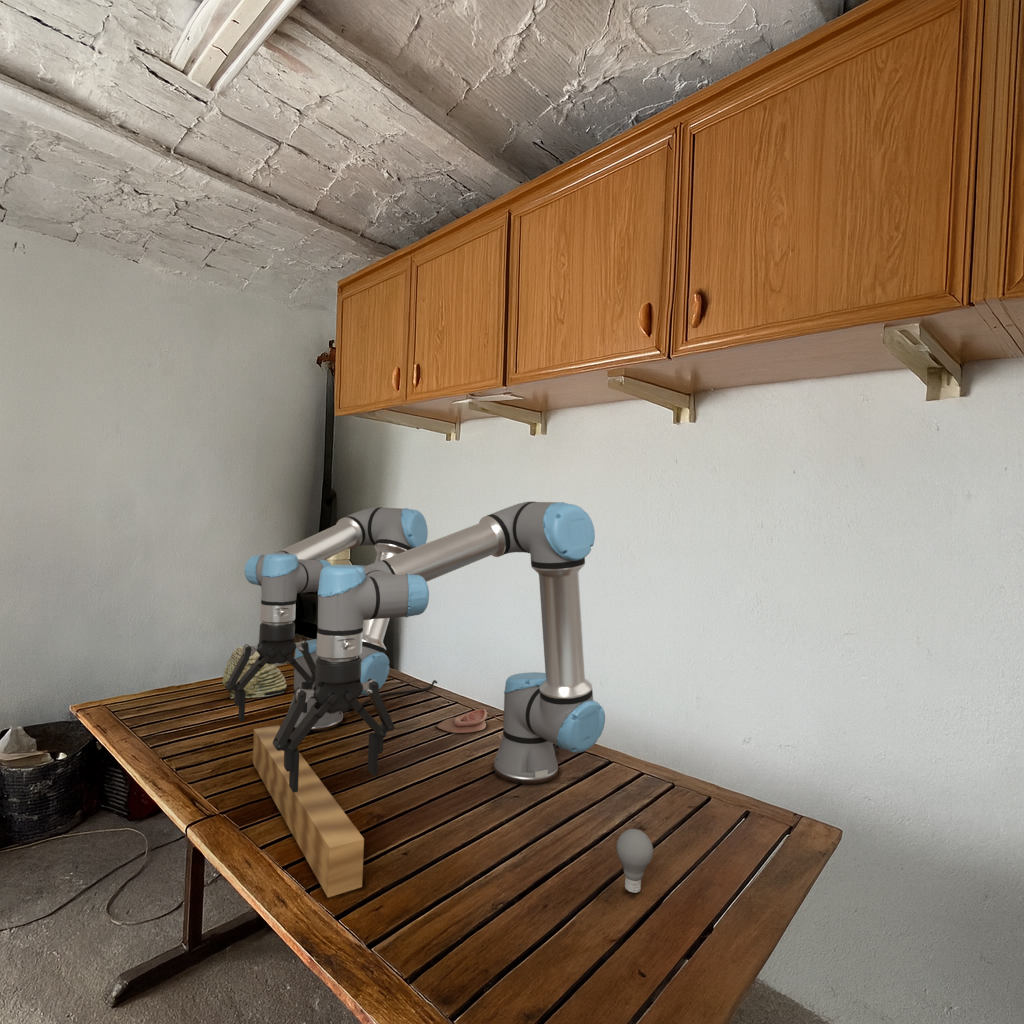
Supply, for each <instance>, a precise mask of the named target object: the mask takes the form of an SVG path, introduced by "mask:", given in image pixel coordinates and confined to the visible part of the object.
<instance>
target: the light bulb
mask: <svg viewBox="0 0 1024 1024" xmlns="http://www.w3.org/2000/svg"><path fill="white" fill-rule="evenodd" d="M615 849H616V854H617V857H618V859H619V861H620V863H621V865H622V867H623V873H624V874H623V875H624V876H625V878H624V888H625V890H627V891H628V892H630V893H634V894H635V893H639V892H640V891H641V889H642V887H641V886H642V879H643V877H644V875H645V871H646V868H647V867H648V866H649V864H650V863H651V861H652V859H653V855H654V847H653V843H652V841H651V838H649V836H648V835H647V834H646V833H645V832H643V831H642V830H641V829H636V828H629V829H627V830H625V831H623V832H622V833H621V834H620V835H619V837H618V839H617V841H616V847H615Z"/></svg>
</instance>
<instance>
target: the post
mask: <svg viewBox="0 0 1024 1024" xmlns="http://www.w3.org/2000/svg"><path fill="white" fill-rule="evenodd" d="M280 726H281V725H280V724H278V725H269V726H263V727H258V728H254V729H253V737H252V738H253V740H252V744H253V745H252V764H253V766H254V768H255V770H256V771H257V773H258V775H259V777H260V779H261V780H262V782H263V784H264V786H265V788H266V790H267V792H268V793H269V795H270V796H271V799H272V800H273V802H274V804H275V805H276V807H277V810H278V811H279V813H280V815H281V816H282V818H283V820H284V822H285V824H286V825H287V828H288V829H289V831H290V833H291V834H292V836H293V838H294V840H295V842H296V844H297V845H298V847H299V849H300V850H301V853H302V854H303V856H304V857H305V860H306V861H307V863H308V865H309V867H310V868H311V870H312V872H313V874H314V876H315V877H316V880H317V881H318V883H319V884H320V887H321V889H322V890H323V892H324V893H325V895H326V897H327V899H329V898H332V897H335V896H338V895H341V894H344V893H348V892H351V891H354V890H356V889H357V890H358V889H361V888H363V878H364V853H365V852H364V851H365V838H364V837H363V835H362V834H361V833H360V831H359V830H358V828H357V827H356V826H355V825H354V823H353V822H352V821H351V818H349V817H348V815H347V813H345V811H344V809H342V807H341V806H340V804H339V803H338V802H337V801H336V799H335V798H334V796H333V795H332V794H331V793H330V791H329V790H328V789H327V787H326V786H325V785H324V783H323V782H322V781H321V779H320V778H319V777H318V776H317V774H316V773H315V771H314V770H313V768H312V767H311V766H310V765H309V763H308V762H307V761H306V759H305V758H304V756H303V755H302V754H301V753H300V752H299V778H298V792H294V793H293V791H292V790H291V788H290V787H289V774H290V771H288V772H287V771H286V769H285V768H284V751H282V750H281V751H278V750H277V749H276V748H275V747H274V745H273V740H274V738H275V736H276V734H277V732H278V730H279V728H280Z"/></svg>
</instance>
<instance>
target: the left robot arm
mask: <svg viewBox="0 0 1024 1024" xmlns="http://www.w3.org/2000/svg"><path fill="white" fill-rule="evenodd" d="M428 531H429V529H428V524H427V520H426V518H425V516H424V515H423V513H422V512H421V511H420V510H418V509H413V508H408V507H405V508H404V507H403V508H400V507H399V508H397V507H380V506H374V507H369V508H364V509H362V510H358V511H356V512H354V513H350V514H348V515H346V516H344V517H342V518H340V519H338V521H336V524H335V525H332V526H331V527H328V528H326V529H324V530H322V531H320V532H318V533H316V534H313V535H311V536H308V537H307V538H304V539H302V540H300V541H298V542H296V543H294V544H293V543H292V544H291V545H289V546H286V547H285V548H282V549H280V550H278V551H275V552H274V553H267V554H266V555H265V554H260V555H258V554H257V555H253V556H251V557H250V558H249V559H248V560H247V561H246V563H245V565H244V576H245V579H246V581H247V582H248V583H250V584H252V585H255V586H260V587H261V591H260V593H261V595H260V611H259V621H260V622H261V623H260V624H259V633H258V643H257V644H256V645H249V644H247V643H246V644H244V645H243V646H242V647H243V653H242V656H241V658H240V659H239V661H238V663H237V665H236V667H235V668H234V670H233V672H232V674H231V676H230V677H229V679H228V681H227V683H226V687H227V688H228V689H229V690H234V691H235V694H234V698H233V703H234V705H235V707H238V716H237V717H238V720H239V722H242V723H243V722H245V719H246V718H245V717H246V716H245V714H246V698H245V696H246V692H245V690H244V689H243V688H244V687H245V686H246V685H247V684H248V683H249V682H250V680H251V679H252V678H253V677H254V676H255V675H256V673H257V672H258V671H259V670H260V669H261V668H262V667H263V666H264V665H265V664H266V663H267V664H270V665H271V664H275V665H276V664H280V665H281V664H282V665H283V664H285V663H287V662H288V663H289V664H290V665H291V666H292V667H293V695H292V696H293V697H292V699H291V702H290V704H289V708H288V711H289V709H290V707H291V705H292V703H293V701H294V695H295V690H296V689H297V688H298V687H301V688H302V689H313V688H314V686H315V672H316V659H317V658H318V657H319V656H318V655H317V654H316V646H317V638H313V639H307V640H305V639H302V640H301V641H299V642H295V635H296V634H295V633H296V623H295V620H296V608H297V607H296V603H297V594H298V595H299V594H304V593H310V592H318V588H319V579H320V573H321V570H322V569H323V568H324V567H326V566H329V565H332V563H331V562H329V561H328V559H330V558H332V557H335V556H336V555H337V554H339V553H341V552H343V551H345V550H347V549H349V550H354V549H357V548H359V547H362V546H374V547H373V548H374V549H375V551H376V553H377V554H376V558H375V560H374V563H375V562H378V561H381V560H384V559H386V558H389V557H392V556H394V555H397V554H400V553H402V552H405V551H407V550H410V549H413V548H415V547H418V546H421V545H423V544H426V543H427V541H428V536H429V535H428V534H429V532H428ZM390 619H391V618H381V619H371V620H364V621H363V635H362V653H361V654H360V655H359V656H360V658H361V659H362V664H361V683H363V682H367V681H368V679H370V678H371V679H373V680H375V681H376V682H377V683H378V684H379V690H381V688H382V687H383V686H384V684H385V683H386V681H387V679H388V675H389V674H390V669H391V668H390V659H389V656H387V654H386V652H387V647H386V646H385V644H384V639H385V635H386V632H387V628H388V625H389V622H390ZM256 651H257V652H258V653H259V655H260V656H259V657H258V658H257V659H256V661H255V663H254V664H253V665H252V666H251V667H250V668H249V670H248V671H247V672H246V673H245V674H244V675H243V676H242V678H241V679H240V680H239V681H238V679H239V677H240V675H241V673H242V671H243V670H244V668H245V666H246V664H247V662H248V661H249V658H250V656H252V655H253V654H254V652H256ZM293 653H295V654H294V656H292V655H293ZM237 681H238V682H237ZM236 682H237V683H236ZM434 684H438V681H437V680H436V679H434V680H432V682H431V684H430V685H429V686H426V687H423V688H415V689H409V690H400V691H392V692H386V693H382V694H379V695H380V697H381V698H382V697H387V696H392V695H401V694H409V693H416V692H423V691H427V690H429V689H432V688H433V686H434ZM360 696H364V697H369V694H367V693H366V692H365V690H363V691H362V693H361V694H360ZM315 702H316V700H315V699H314V697H311V698H310V699H309V701H308V702H307V703H305V706H304V708H303V711H302V713H301V715H300V717H299V718H298V720H297V722H296V724H295V726H294V728H293V730H292V731H294V730H295V729H296V727H297V726H298V725H299V724H300V722H301V721H302V720H303V719H304V717H305V716H306V715H307V714H308V712H309V711H310V708H311V707H312V705H313V704H314V703H315ZM368 702H372V701H371V699H370V698H368V699H366V700H363V701H362V702H361V703H360V704H361V705H362V706H364V705H365V704H367V703H368ZM349 710H354V709H353V708H352V707H351V708H350V709H349ZM288 711H287V712H288ZM343 713H344V712H341V711H338V712H336V713H332V714H330V713H327V712H326V713H325V714H324V716H323V717H322V718H320V719H319V720H318V721H317V722H316V724H315V725H314V726H313V728H312V729H311V730H310V731H309V733H316V732H325V731H329V730H332V729H335V728H337V727H339V726H340V725H342V723H343V722H344V714H343Z"/></svg>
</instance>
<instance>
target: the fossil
mask: <svg viewBox="0 0 1024 1024" xmlns="http://www.w3.org/2000/svg"><path fill="white" fill-rule="evenodd" d="M243 647H244V646H238V647H237V648H236V649H235V650H233V651H232V653H231V656H230V657H229V659H228V660H227V663H226V666H225V668H224V671H223V675H222V676H223V677H222V685H223V687H224V688H225V690H226V691H228V693H229V698H230V699H234V694H235V691H234V690H229V689H228V688H227V687H226V683H227V681H228V679H229V677H230V676H231V674H232V672H233V670H234V668H235V667H236V665H237V663H238V661H239V659H240V658H241V656H242V653H243ZM259 656H260V655H259V653H258V652H257V651H256V652H254V654H253V655H252V656H250V658H249V661H248V662H247V664H246V666H245V668H244V670H243V671H242V673H241V675H240V677H239V679H238V681H239V680H240V679H241V678H242V676H243V675H244V674H245V673H246V672H247V671H248V670H249V668H250V667H251V666H252V665H253V664H254V663H255V661H256V659H257V658H258V657H259ZM238 681H237V682H238ZM237 682H236V683H237ZM287 687H288V686H287V680H286V678H285V676H284V674H283V673H282V672H281V669H279V668H278V667H277V665H276V663H275V664H271V665H270V664H267V663H266V664H265V665H264V666H263V667H262V668H261V669H260V670H259V671H258V672H257V673H256V675H255V676H254V677H253V678H252V679H251V680H250V682H249V683H248V684H247V685H246V686H245V687H244V688H243V689H244V690H245V692H246V696H245V699H250V698H264V697H271V696H275V695H281V694H284V693H285V691H286V689H287Z"/></svg>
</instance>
